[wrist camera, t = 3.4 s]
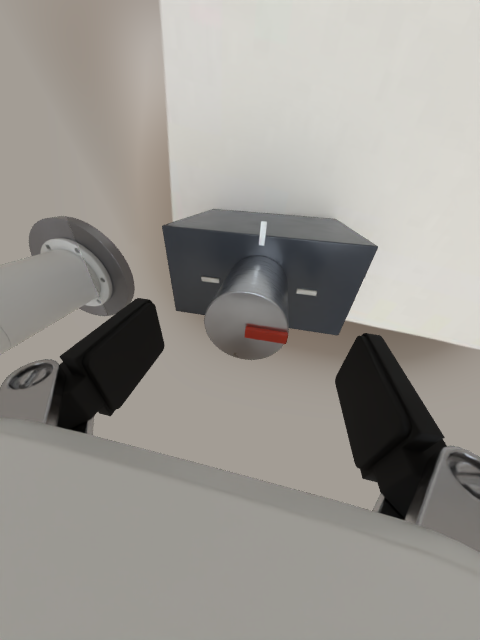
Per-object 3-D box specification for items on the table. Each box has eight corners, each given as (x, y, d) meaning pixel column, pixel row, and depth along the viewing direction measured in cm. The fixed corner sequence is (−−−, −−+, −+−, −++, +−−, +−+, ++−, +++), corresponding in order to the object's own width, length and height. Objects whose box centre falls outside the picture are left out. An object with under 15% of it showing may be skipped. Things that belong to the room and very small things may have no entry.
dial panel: (214, 271, 27) (176, 319, 18) (213, 200, 22) (157, 212, 13) (316, 284, 26) (335, 344, 16) (338, 210, 21) (386, 232, 11)
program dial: (227, 306, 16) (204, 356, 11) (228, 252, 13) (198, 288, 9) (281, 314, 15) (280, 370, 11) (293, 259, 13) (298, 301, 8)
